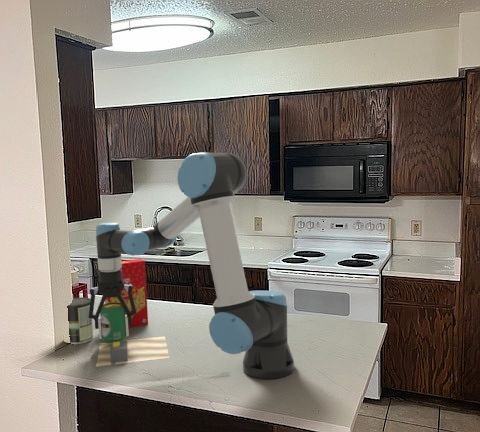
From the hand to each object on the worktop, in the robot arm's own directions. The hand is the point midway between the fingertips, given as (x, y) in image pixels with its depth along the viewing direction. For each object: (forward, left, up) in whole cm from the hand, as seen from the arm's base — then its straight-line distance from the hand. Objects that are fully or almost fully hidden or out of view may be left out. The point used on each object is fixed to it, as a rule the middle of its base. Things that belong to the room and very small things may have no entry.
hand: (114, 336), depth 161 cm
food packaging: (+24, -4, -5) cm, 25 cm away
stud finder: (-11, -2, -3) cm, 12 cm away
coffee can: (+14, +13, -5) cm, 20 cm away
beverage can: (0, 0, -1) cm, 1 cm away
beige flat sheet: (-6, -6, -5) cm, 10 cm away
